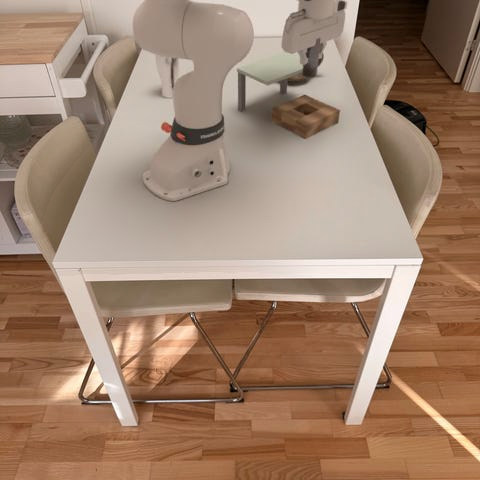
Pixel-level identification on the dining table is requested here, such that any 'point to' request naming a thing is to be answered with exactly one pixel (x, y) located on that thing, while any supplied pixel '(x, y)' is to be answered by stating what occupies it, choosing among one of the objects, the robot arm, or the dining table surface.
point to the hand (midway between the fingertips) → (310, 61)
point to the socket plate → (305, 116)
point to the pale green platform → (268, 73)
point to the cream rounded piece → (167, 74)
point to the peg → (312, 60)
